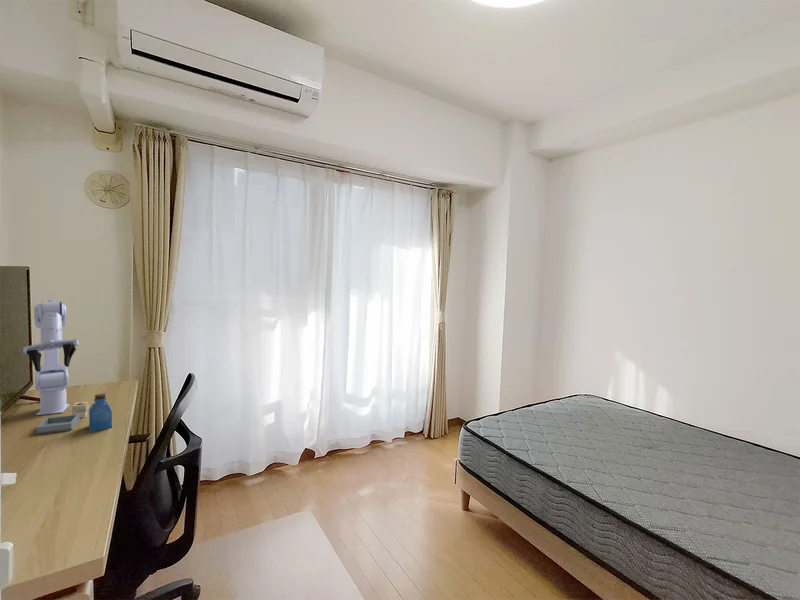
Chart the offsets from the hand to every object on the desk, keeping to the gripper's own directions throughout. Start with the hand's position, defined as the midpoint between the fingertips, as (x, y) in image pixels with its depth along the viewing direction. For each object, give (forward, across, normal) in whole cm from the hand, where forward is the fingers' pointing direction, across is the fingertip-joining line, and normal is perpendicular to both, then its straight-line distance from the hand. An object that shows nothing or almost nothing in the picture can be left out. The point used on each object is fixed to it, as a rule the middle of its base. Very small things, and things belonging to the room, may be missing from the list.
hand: (52, 368), depth 131 cm
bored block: (+13, +1, +24) cm, 28 cm away
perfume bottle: (+21, +9, +13) cm, 27 cm away
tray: (+17, -3, +16) cm, 24 cm away
